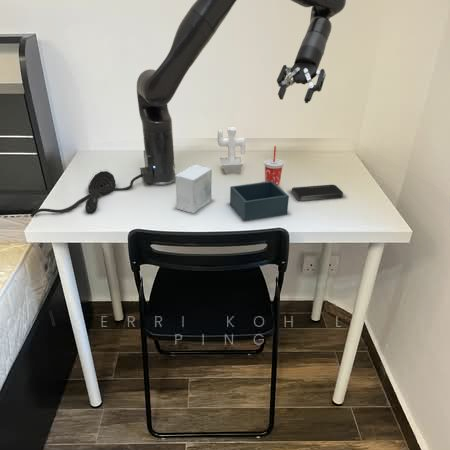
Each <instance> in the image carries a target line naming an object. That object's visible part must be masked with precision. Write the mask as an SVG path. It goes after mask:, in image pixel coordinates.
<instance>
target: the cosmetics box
mask: <svg viewBox="0 0 450 450" xmlns="http://www.w3.org/2000/svg"><path fill="white" fill-rule="evenodd" d="M212 171H213V170H212V167H211V168H210V167H207V166H202V165H199V164H193V165H191V166H190V167H187V168H186V169H184V170H183V171H181V172H179V173H177V174H175V196H176V199H175V200H176V201H175V202H176V207H175V209H177V210H181V211H184V212H188V213H191V214H195V213H196V212H197V211H199V210H200V209H202V208H203V207H204V206H207V204H209V203H210V202H212V183H213V181H212V178H213V177H212V175H213V174H212Z"/></svg>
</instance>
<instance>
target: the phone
mask: <svg viewBox="0 0 450 450" xmlns="http://www.w3.org/2000/svg"><path fill="white" fill-rule="evenodd" d="M291 194H292V195H293V196H294V197H295V199H296V200H297V201H300V202H302V201H303V202H305V201H315V200H317V201H318V200H328V199H329V200H330V199H341V198H343V197H344V192H343V191H342V190H341V188H339V187H338V185H336V184H322V185H307V186H293V187H291Z"/></svg>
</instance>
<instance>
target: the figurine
mask: <svg viewBox="0 0 450 450" xmlns="http://www.w3.org/2000/svg"><path fill="white" fill-rule="evenodd" d="M223 133H224V132H223V130H222V129H221V128H219V129H218V130H217V145H218V146H219V147H226V148H227V157H219V159H220V163H221V166H222V169H223V171H224V173H225V175H234V174H236V175H237V174H239V173H240V171H241V170H242V167H243V166H244V162H243V160H242V157H241V156H240V157H239V156H236V147H239V148H240V150H239V151H240V154H241V155H245V153H246V138H244V137H236V134H237V127H236V126H232V125H231V126H228V127H227V137H224V134H223Z"/></svg>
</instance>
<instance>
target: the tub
mask: <svg viewBox="0 0 450 450" xmlns="http://www.w3.org/2000/svg"><path fill="white" fill-rule="evenodd" d="M229 188H230V189H229V190H230V191H229V205H230V206H231V207H232V209H233V210H234V211H235V212H236V213H237V215H238V216H239V217H240V218H241V220H242V221H244V222H247V221H254V220H260V219H267V218H272V217H280V216H285V215H288V209H289V200H290V199H289V198H290V195H289V194H288V193H287V192H286V191H284V190H283V189H282V188H281V187H280V186H279V187H278V186H277V185H276V184H275V183H274V182H273V181H268V182H265V181H262V182H254V183H247V184H240V185H239V184H238V185H232V186H230V187H229Z"/></svg>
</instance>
